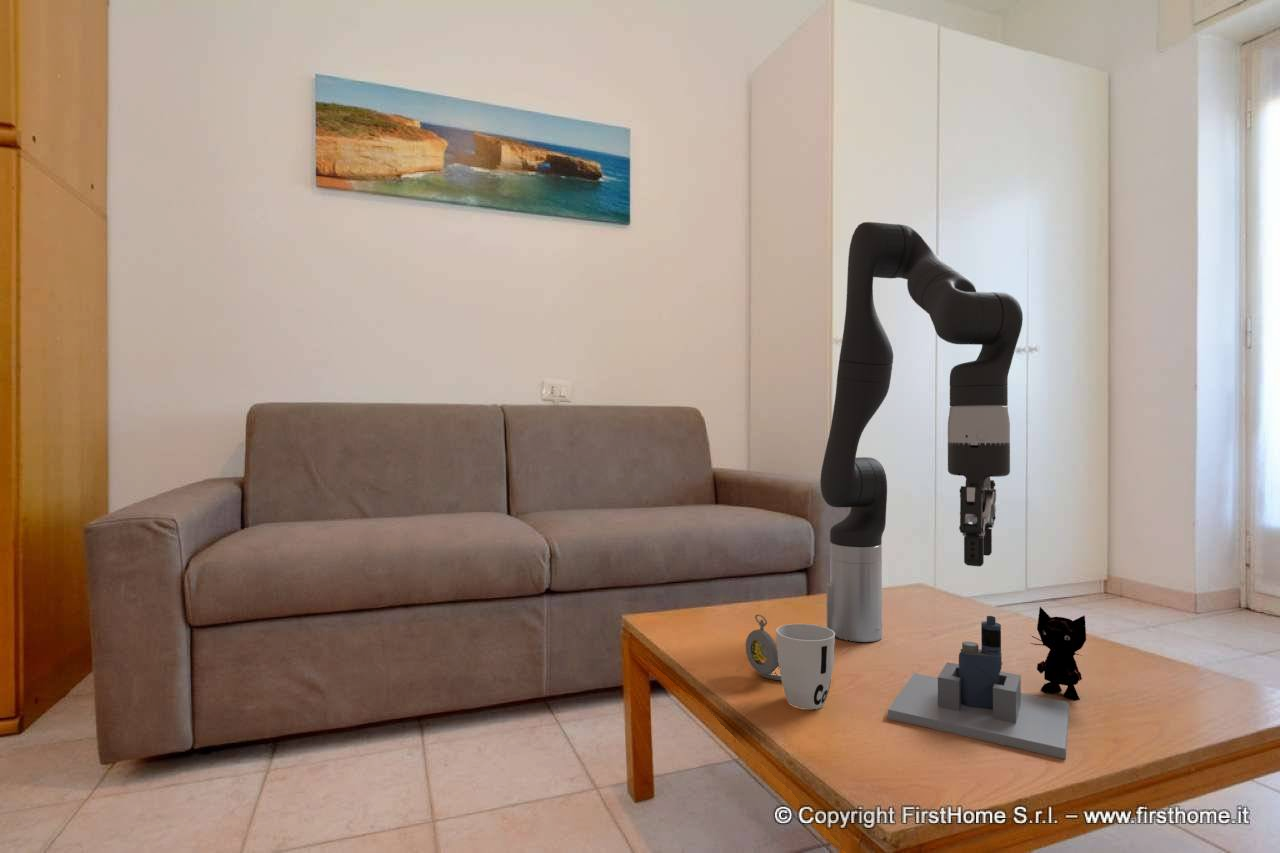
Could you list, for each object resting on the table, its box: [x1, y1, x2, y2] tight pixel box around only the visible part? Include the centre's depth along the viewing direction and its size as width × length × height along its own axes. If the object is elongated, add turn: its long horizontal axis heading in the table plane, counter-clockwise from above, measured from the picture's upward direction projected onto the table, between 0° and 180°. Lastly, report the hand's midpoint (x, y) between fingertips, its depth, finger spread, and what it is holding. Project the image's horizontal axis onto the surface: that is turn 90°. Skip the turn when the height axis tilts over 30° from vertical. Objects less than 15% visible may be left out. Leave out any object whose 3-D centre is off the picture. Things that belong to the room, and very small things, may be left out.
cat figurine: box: [1029, 606, 1087, 701], centre depth 98 cm, size 7×7×12 cm
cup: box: [775, 623, 836, 710], centre depth 95 cm, size 8×8×10 cm
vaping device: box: [958, 615, 1003, 709], centre depth 91 cm, size 3×5×12 cm, turn 73°
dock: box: [887, 661, 1070, 760], centre depth 90 cm, size 20×16×5 cm
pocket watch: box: [745, 614, 782, 681], centre depth 105 cm, size 8×8×10 cm
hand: (978, 559), depth 90 cm, fingers open, 8 cm apart
